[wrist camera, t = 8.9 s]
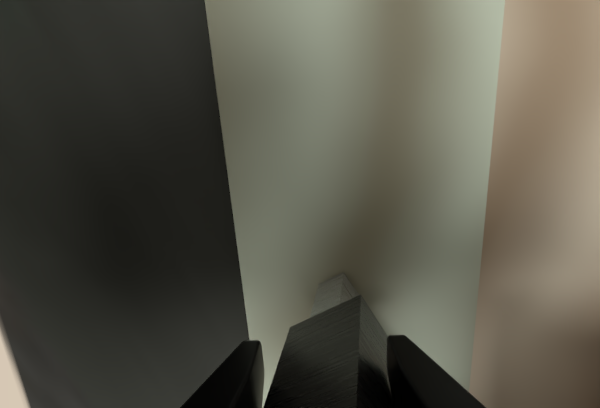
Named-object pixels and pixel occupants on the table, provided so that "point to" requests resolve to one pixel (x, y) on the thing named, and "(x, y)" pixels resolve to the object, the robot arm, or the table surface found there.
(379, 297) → the pale gradient board
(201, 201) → the table surface
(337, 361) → the brushed metal angle bracket
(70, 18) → the table surface
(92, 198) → the table surface
